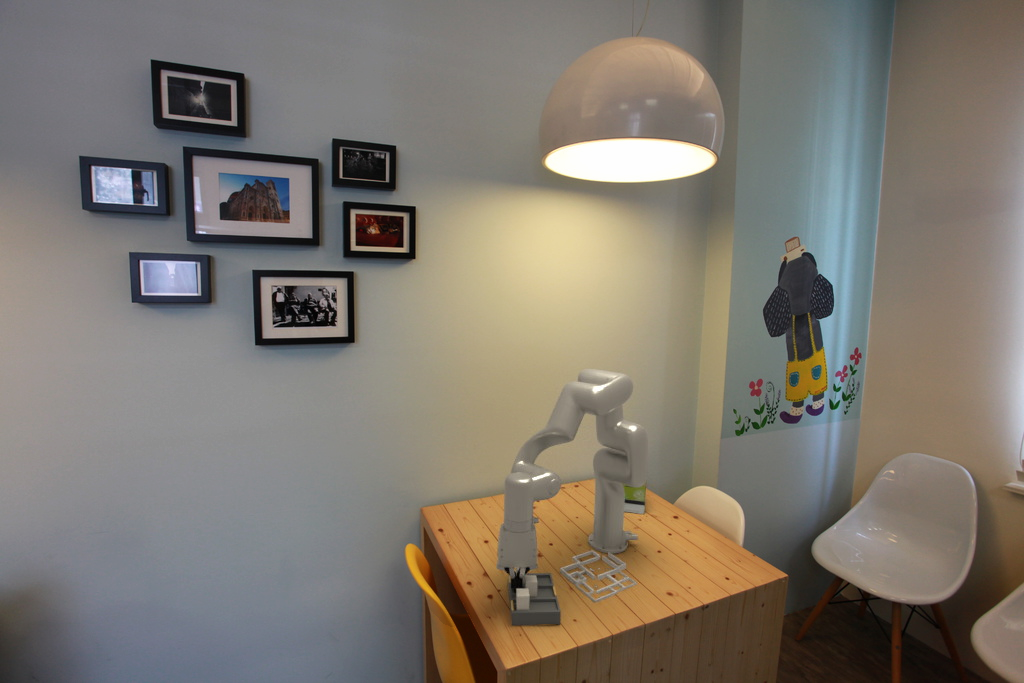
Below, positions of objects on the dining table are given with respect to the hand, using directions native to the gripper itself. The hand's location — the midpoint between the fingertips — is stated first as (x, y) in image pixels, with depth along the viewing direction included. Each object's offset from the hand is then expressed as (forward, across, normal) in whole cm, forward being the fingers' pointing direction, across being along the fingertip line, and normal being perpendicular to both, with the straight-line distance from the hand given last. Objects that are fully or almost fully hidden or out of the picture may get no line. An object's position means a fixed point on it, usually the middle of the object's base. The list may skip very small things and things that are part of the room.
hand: (516, 589), depth 119 cm
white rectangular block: (+1, -2, -5) cm, 6 cm away
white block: (+1, -4, 0) cm, 4 cm away
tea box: (+4, -46, -56) cm, 73 cm away
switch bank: (+4, -4, 0) cm, 6 cm away
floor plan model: (+5, -23, -15) cm, 28 cm away
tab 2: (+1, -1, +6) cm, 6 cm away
